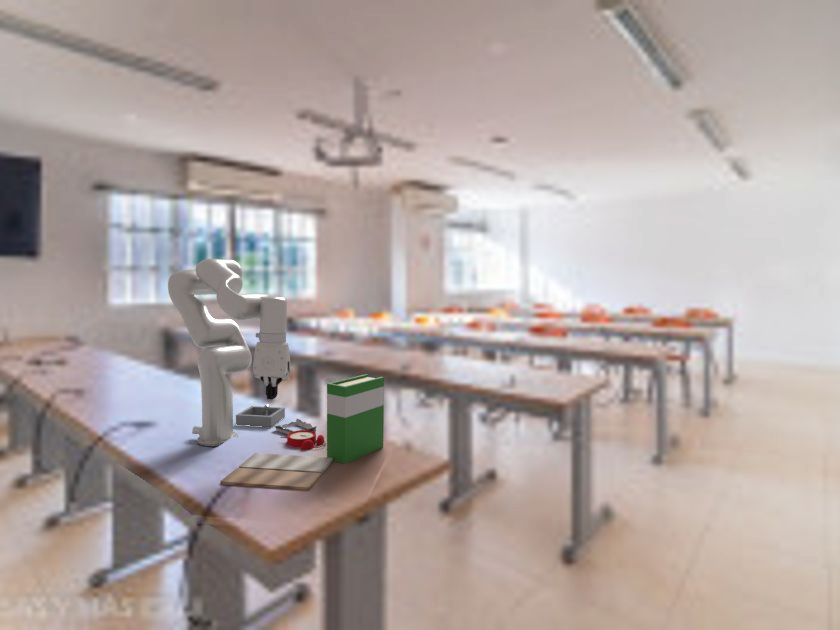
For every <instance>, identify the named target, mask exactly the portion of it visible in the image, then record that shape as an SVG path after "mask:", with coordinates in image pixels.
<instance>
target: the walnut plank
mask: <svg viewBox="0 0 840 630" xmlns="http://www.w3.org/2000/svg"><path fill="white" fill-rule="evenodd" d="M320 477H321V473H309V472H294V471H278V470H263V469H247V468H239V467H236V468H235V469H234V470H232V471H231V472H230V473H229V474H228V475H226V476H225V477H224V478H222V479H221V480H220V485H226V486H243V487H255V488H258V487H259V488H270V489H282V490H283V489H286V490H301V491H310V490H311V489H312V488H313V487H314V485H315V484H316V483H317V482H318V480H319V479H320Z"/></svg>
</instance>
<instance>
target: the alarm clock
mask: <svg viewBox="0 0 840 630" xmlns="http://www.w3.org/2000/svg"><path fill="white" fill-rule="evenodd" d="M293 431H294V432H291V433H289V434H286V435H287V436H280V438H281V439H286V443H285V444H286V445H287V446H288V447H290V448H300V450H303V451H306V450H311V449H317V448H318V449H319V448H322V447H325V446H327V442H325V437H324V436H323V434H319V435H318V436H317V434H316V433H315V432H313V431H309V430H308V429H301V430H293Z"/></svg>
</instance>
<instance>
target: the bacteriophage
mask: <svg viewBox="0 0 840 630" xmlns="http://www.w3.org/2000/svg"><path fill="white" fill-rule="evenodd" d="M263 407H264V409H265V410H266V412H265V413H266V416H270V415H268V413H271V412H269V411H267V410H268V409H269V407H270V405H269V404H264V406H263ZM271 414H272V413H271ZM263 415H265V414H264V413H263Z"/></svg>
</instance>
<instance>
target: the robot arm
mask: <svg viewBox="0 0 840 630" xmlns="http://www.w3.org/2000/svg"><path fill="white" fill-rule="evenodd" d="M242 276H243V271H242V267H241V265H240V264H239V263H238V262H237V261H236V260H233V259H227V258H225V259H224V258H222V259H221V258H205V259H202V260H201V261H199V262H198V263H197V265H196V266H195V269H185V270H179V271H175V272H173V273H172V274H171V275H170V276H169V278H168V280H167V291H168V295H169V298H170V300H171V303H172V304H173V306H175V309H177V310H178V312H179V314H180V315H181V318H182V319H183V322H184V325H185V327H186V329H187V332H188V334H189V336H190V338H191V340H192V342H193V343H194V345H195V346H196V347H198V348H202V349H203V348H205V349H203V350H201V352H199V354H198V356H197V359H196V362H197V367H198V371H199V377H200V387H201V388H200V390H201V391H200V392H201V422H202V423H201V425H202V426H198V425H197V426H193V427H192V431H191V433H192V434H193V435H199V436H198V437H197V441H196V442H197V444H198V445H200V446H203V445H204V447H219V446H218V445H220V446H221V445H223V444H225V443H226V442H227V441H229V440H230V439H232V438H239V434H238V433H237V432H235V431H234V412H233V411H234V408H233V407H234V406H233V405H234V403H233V385H232V384H231V382H230V381H229V379H228V377H227V376H226V375H229V374H234V373H240V372H244V371H247V370H248V369H249V368H250V367H251V365H252V373H253V374H254V378H256V379H259V380H261V381H262V382H263V384H264V386H265V396H266V399H267V400H271V401H272V400H275V398H277V397H278V394H279V393H278V392H279V389H278V388H279V385H280V384H281V383H282V382H286V381H288V380H289V381H290V380H291V379H290V378H291V376H290V373H291V355H290V347H289V343H288V342H287V313H288V311H287V310H288V302H287V299H286V298H285V297H283V296H275V295H274V296H273V295H271V294H267V293H244V294H243V293H242V294H240V292H241V291H242V288H243V280H242ZM196 295H197V296H199V295H216V300H217V301H216V302H217V304H218V307H219V308H220V310H222V312H224V313H225V314H226V315H227V316H229V317H231V318H225V317H224V318H214V317H213V316H212V315H211V313H210V311H209V308H208V306H206V304H205V303H204V302H203V301H202V300H200V299H199V298H198V297H196ZM232 318H233V319H235V320H239V321H240V320H241V321H243V320H253V319H256V320H257V319H259V332H255V337H256V338H258V341H256V344H255V348H254V355H253V358H252V352H251V350H250V347H249V346H248V345H249V344H248V343H247V341H246V338H245V337H244V335H243V332H242V330H241V328H240V326H239V324H238V323H237V322H236V321H235V320H233V319H232ZM252 360H253V361H252ZM252 362H253V363H252Z"/></svg>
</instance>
